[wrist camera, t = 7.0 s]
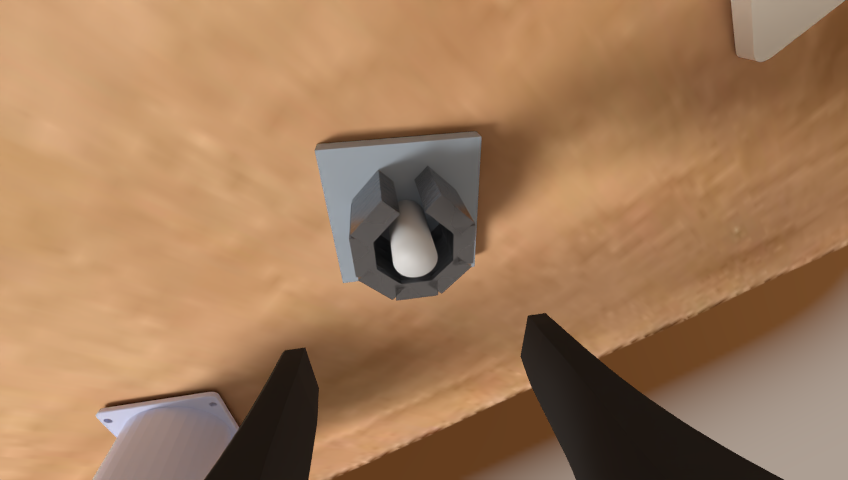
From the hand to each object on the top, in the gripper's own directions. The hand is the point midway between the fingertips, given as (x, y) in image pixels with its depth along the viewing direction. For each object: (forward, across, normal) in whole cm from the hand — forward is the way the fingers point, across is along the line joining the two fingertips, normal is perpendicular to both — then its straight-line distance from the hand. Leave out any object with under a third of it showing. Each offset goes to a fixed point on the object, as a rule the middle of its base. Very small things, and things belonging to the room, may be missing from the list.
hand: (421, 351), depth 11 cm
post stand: (+10, 0, 0) cm, 10 cm away
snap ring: (+9, 0, 0) cm, 9 cm away
